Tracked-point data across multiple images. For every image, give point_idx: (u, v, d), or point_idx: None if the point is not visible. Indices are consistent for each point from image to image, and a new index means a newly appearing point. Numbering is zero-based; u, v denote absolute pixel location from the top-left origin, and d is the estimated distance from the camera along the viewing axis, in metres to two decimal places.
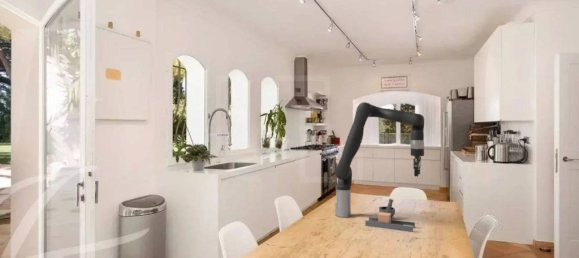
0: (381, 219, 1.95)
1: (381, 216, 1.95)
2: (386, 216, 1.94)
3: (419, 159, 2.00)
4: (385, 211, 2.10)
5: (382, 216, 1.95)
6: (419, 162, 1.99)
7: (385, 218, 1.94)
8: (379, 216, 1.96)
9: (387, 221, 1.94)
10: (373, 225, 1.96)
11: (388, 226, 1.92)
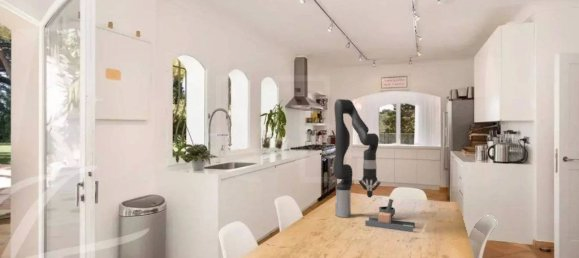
0: (381, 219, 1.95)
1: (381, 216, 1.95)
2: (386, 216, 1.94)
3: None
4: (385, 211, 2.10)
5: (382, 216, 1.95)
6: None
7: (385, 218, 1.94)
8: (379, 216, 1.96)
9: (387, 221, 1.94)
10: (373, 225, 1.96)
11: (388, 226, 1.92)
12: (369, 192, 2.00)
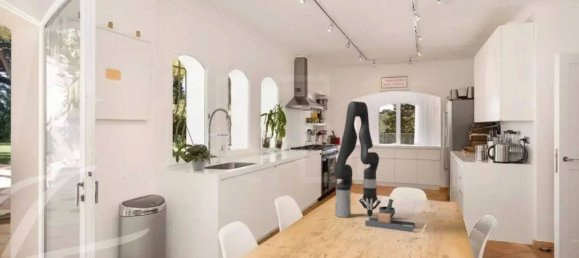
0: (381, 219, 1.95)
1: (381, 216, 1.95)
2: (386, 216, 1.94)
3: None
4: (385, 211, 2.10)
5: (382, 216, 1.95)
6: None
7: (385, 218, 1.94)
8: (379, 216, 1.96)
9: (387, 221, 1.94)
10: (373, 225, 1.96)
11: (388, 226, 1.92)
12: (369, 211, 2.00)
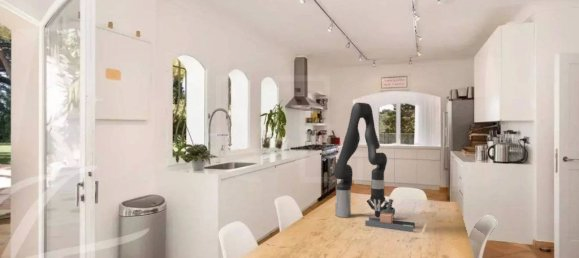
0: (383, 219, 1.95)
1: (383, 216, 1.95)
2: (388, 216, 1.93)
3: None
4: (385, 211, 2.10)
5: (384, 216, 1.94)
6: None
7: (387, 218, 1.94)
8: (381, 216, 1.95)
9: (389, 221, 1.93)
10: (373, 225, 1.96)
11: (388, 226, 1.92)
12: (377, 212, 1.98)
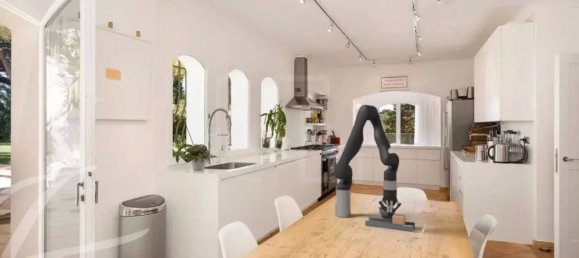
0: (395, 221, 1.91)
1: (395, 218, 1.91)
2: (401, 218, 1.90)
3: None
4: (385, 211, 2.10)
5: (397, 218, 1.91)
6: None
7: (400, 219, 1.90)
8: (393, 218, 1.92)
9: (402, 223, 1.90)
10: (373, 225, 1.96)
11: (388, 226, 1.92)
12: (389, 213, 1.95)
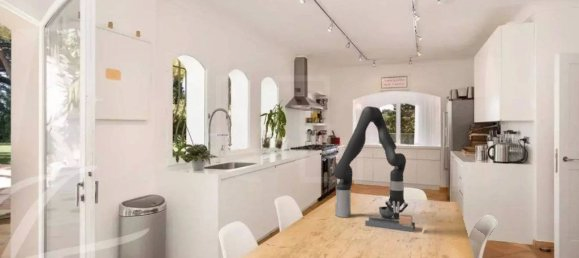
0: (402, 222, 1.90)
1: (402, 219, 1.90)
2: (408, 219, 1.89)
3: None
4: (385, 211, 2.10)
5: (403, 219, 1.90)
6: None
7: (407, 220, 1.89)
8: (400, 219, 1.90)
9: (409, 224, 1.88)
10: (373, 225, 1.96)
11: (388, 226, 1.92)
12: (396, 214, 1.93)
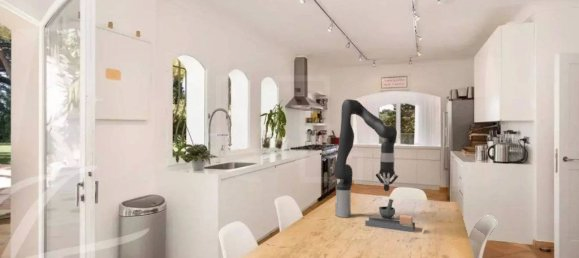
0: (403, 222, 1.90)
1: (403, 219, 1.90)
2: (408, 219, 1.88)
3: None
4: (385, 211, 2.10)
5: (404, 219, 1.89)
6: None
7: (407, 220, 1.89)
8: (401, 219, 1.90)
9: (409, 224, 1.88)
10: (373, 225, 1.96)
11: (388, 226, 1.92)
12: (386, 186, 1.95)
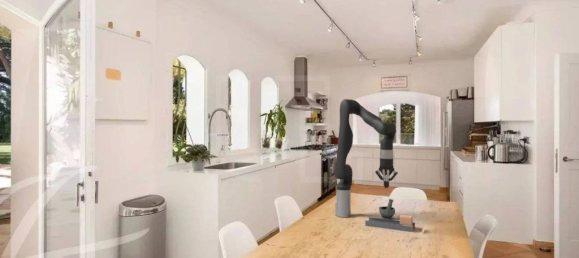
0: (403, 222, 1.90)
1: (403, 219, 1.90)
2: (408, 219, 1.88)
3: None
4: (385, 211, 2.10)
5: (404, 219, 1.89)
6: None
7: (407, 220, 1.89)
8: (401, 219, 1.90)
9: (409, 224, 1.88)
10: (373, 225, 1.96)
11: (388, 226, 1.92)
12: (386, 182, 1.96)
